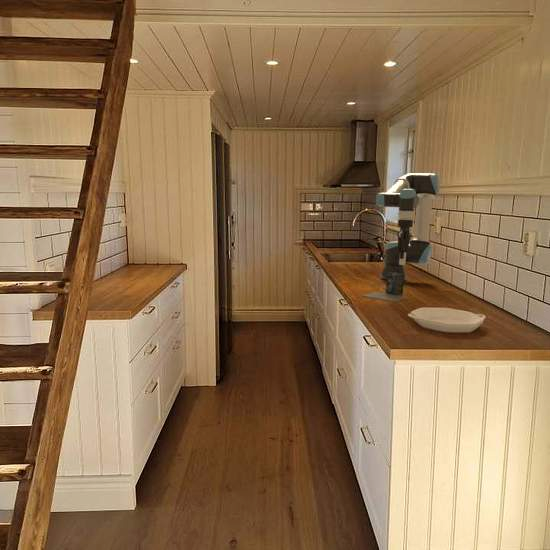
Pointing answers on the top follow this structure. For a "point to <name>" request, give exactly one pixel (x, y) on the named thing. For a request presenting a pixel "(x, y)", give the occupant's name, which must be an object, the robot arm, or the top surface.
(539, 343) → the top surface
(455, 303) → the top surface
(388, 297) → the mat
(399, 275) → the box
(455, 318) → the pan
